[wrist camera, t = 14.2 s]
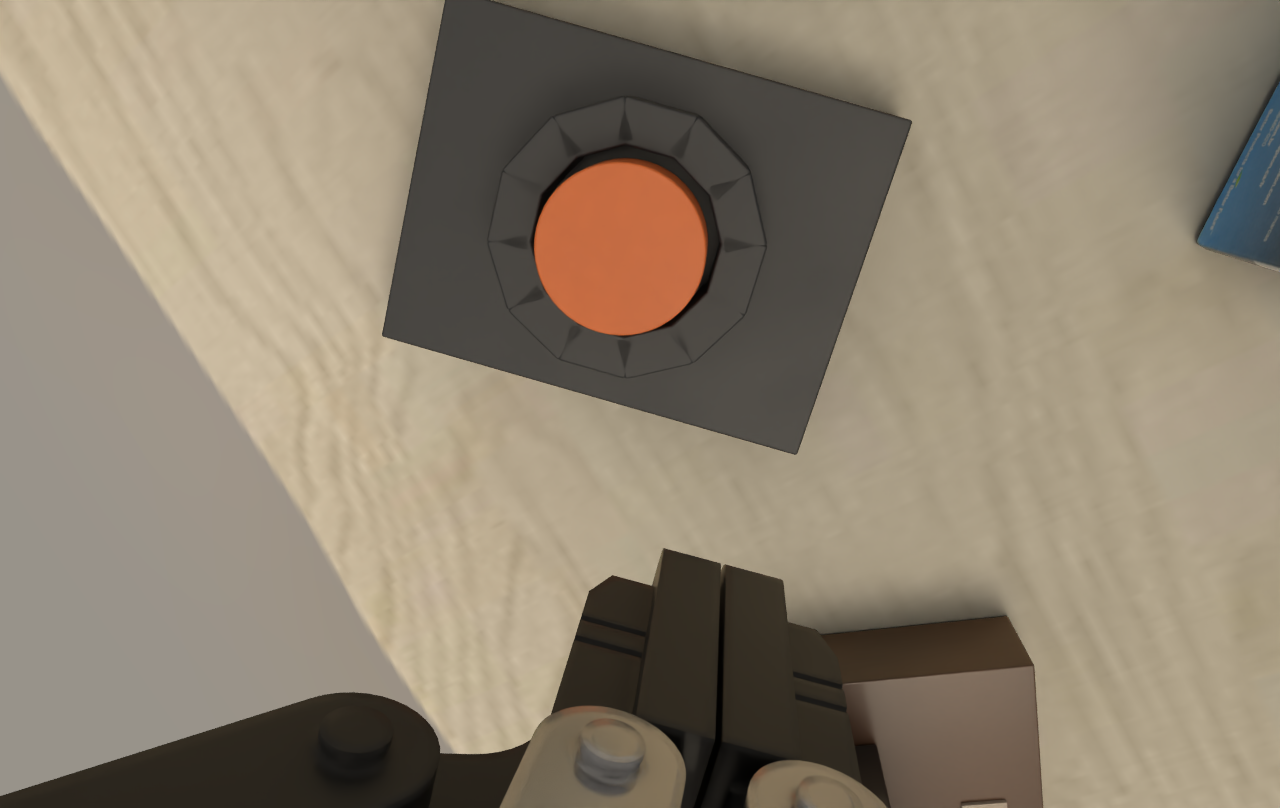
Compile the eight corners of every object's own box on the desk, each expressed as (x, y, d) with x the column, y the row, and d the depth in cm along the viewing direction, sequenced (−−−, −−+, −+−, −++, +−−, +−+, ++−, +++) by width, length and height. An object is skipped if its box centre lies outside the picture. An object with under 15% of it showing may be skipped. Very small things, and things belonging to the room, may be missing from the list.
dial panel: (1007, 615, 32) (1036, 668, 29) (1024, 857, 35) (1052, 928, 32) (655, 651, 34) (647, 705, 31) (698, 880, 37) (695, 950, 34)
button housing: (899, 119, 28) (926, 122, 24) (792, 431, 31) (800, 478, 27) (468, -4, 28) (426, -21, 24) (404, 320, 31) (359, 351, 27)
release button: (728, 183, 25) (727, 189, 24) (682, 340, 27) (679, 355, 25) (567, 138, 25) (555, 140, 24) (530, 296, 27) (516, 309, 25)
